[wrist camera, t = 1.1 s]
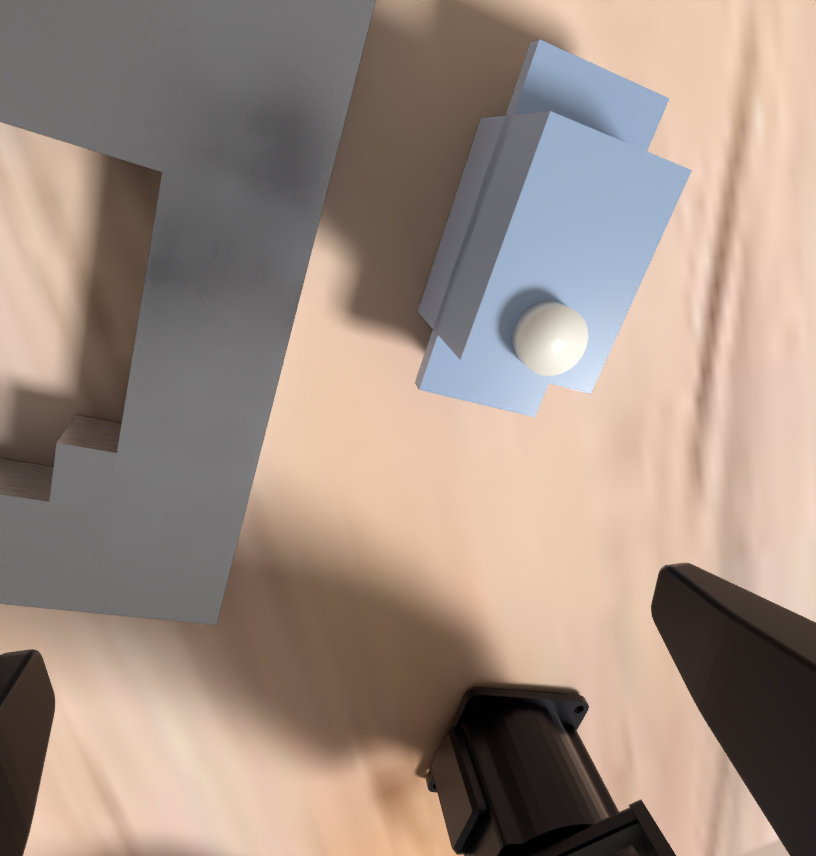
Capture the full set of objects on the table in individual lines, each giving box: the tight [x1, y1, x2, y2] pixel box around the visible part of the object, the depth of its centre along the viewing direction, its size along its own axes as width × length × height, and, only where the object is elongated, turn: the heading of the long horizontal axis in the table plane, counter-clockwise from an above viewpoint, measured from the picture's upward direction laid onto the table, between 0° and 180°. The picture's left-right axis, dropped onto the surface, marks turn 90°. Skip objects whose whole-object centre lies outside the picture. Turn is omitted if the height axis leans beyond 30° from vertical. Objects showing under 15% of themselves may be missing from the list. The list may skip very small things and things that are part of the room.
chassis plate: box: [0, 0, 376, 625], centre depth 17 cm, size 20×14×2 cm
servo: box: [415, 39, 692, 417], centre depth 17 cm, size 4×10×6 cm, turn 162°
